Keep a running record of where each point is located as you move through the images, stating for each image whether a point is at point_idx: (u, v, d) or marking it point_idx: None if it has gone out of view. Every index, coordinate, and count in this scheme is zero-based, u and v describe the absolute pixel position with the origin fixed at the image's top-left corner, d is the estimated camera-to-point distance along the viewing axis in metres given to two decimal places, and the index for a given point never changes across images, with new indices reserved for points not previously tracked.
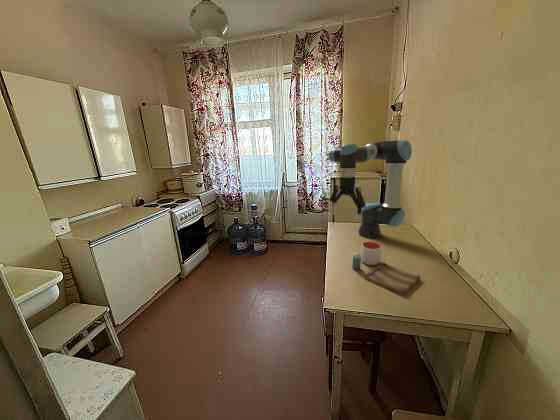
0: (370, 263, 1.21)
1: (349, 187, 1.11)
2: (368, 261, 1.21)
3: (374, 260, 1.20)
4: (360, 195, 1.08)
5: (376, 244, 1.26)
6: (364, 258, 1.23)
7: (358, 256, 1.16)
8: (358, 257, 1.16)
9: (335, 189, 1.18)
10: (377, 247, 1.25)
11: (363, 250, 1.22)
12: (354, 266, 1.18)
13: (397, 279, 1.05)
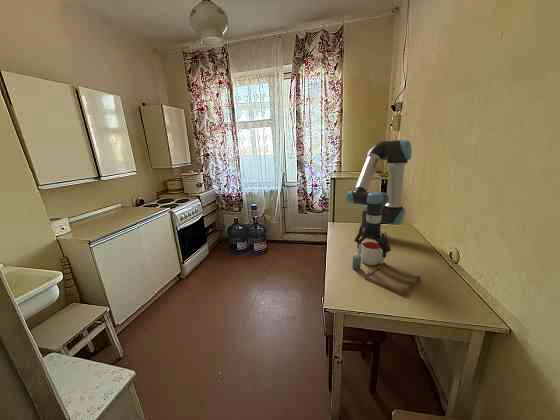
0: (370, 263, 1.21)
1: (375, 232, 1.18)
2: (368, 261, 1.21)
3: (374, 260, 1.20)
4: (386, 240, 1.16)
5: (376, 244, 1.26)
6: (364, 258, 1.23)
7: (358, 256, 1.16)
8: (358, 257, 1.16)
9: (360, 231, 1.25)
10: (377, 247, 1.25)
11: (363, 250, 1.22)
12: (354, 266, 1.18)
13: (397, 279, 1.05)
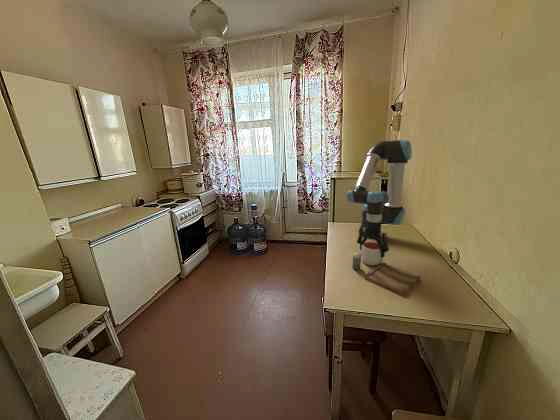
0: (371, 263, 1.21)
1: (376, 231, 1.18)
2: (369, 261, 1.21)
3: (375, 260, 1.19)
4: (385, 240, 1.16)
5: (377, 244, 1.25)
6: (365, 258, 1.22)
7: (358, 256, 1.16)
8: (358, 257, 1.16)
9: (361, 232, 1.25)
10: (378, 247, 1.25)
11: (364, 250, 1.22)
12: (354, 266, 1.18)
13: (397, 279, 1.05)
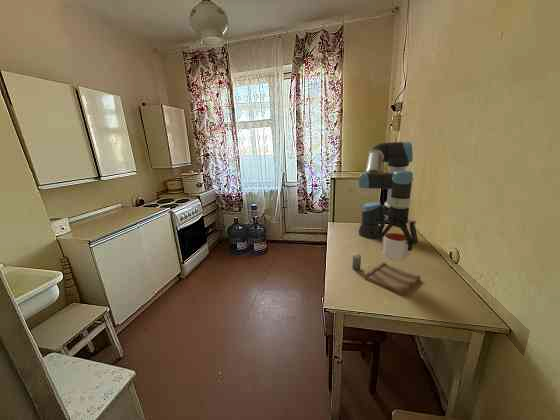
0: (395, 258, 1.01)
1: (402, 219, 0.98)
2: (392, 255, 1.01)
3: (400, 254, 1.00)
4: (414, 230, 0.96)
5: (401, 235, 1.05)
6: (387, 252, 1.02)
7: (358, 256, 1.16)
8: (358, 257, 1.16)
9: (383, 220, 1.05)
10: (402, 239, 1.05)
11: (386, 242, 1.02)
12: (354, 266, 1.18)
13: (397, 279, 1.05)
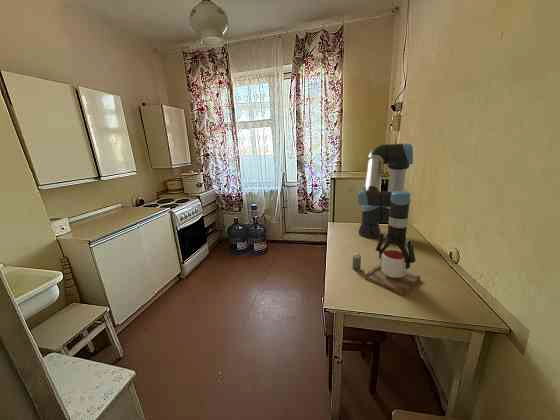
0: (393, 275, 1.03)
1: (400, 238, 1.00)
2: (391, 273, 1.03)
3: (398, 272, 1.02)
4: (412, 249, 0.98)
5: (399, 253, 1.08)
6: (386, 269, 1.05)
7: (358, 256, 1.16)
8: (358, 257, 1.16)
9: (382, 238, 1.07)
10: (400, 256, 1.08)
11: (385, 260, 1.05)
12: (354, 266, 1.18)
13: (397, 279, 1.05)
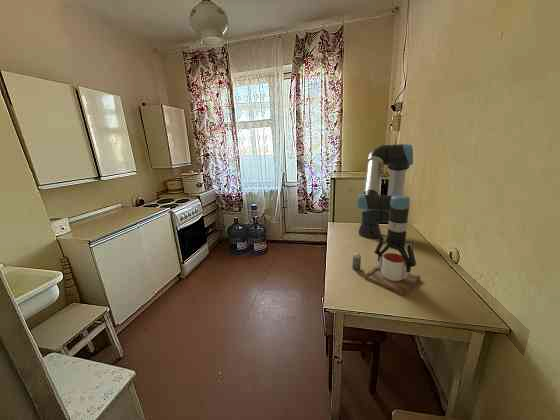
0: (393, 279, 1.04)
1: (399, 242, 1.01)
2: (390, 276, 1.04)
3: (398, 275, 1.03)
4: (412, 253, 0.99)
5: (399, 256, 1.08)
6: (386, 272, 1.05)
7: (358, 256, 1.16)
8: (358, 257, 1.16)
9: (381, 241, 1.08)
10: (400, 259, 1.08)
11: (384, 263, 1.05)
12: (354, 266, 1.18)
13: None
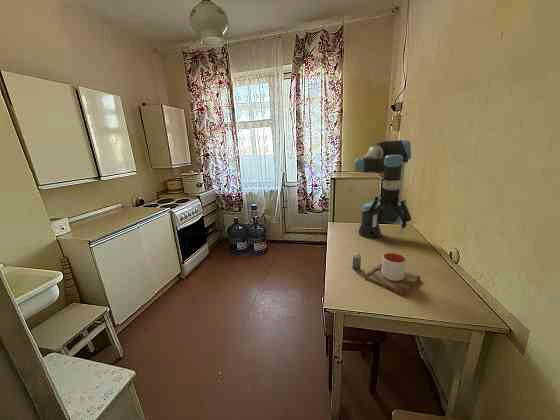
0: (393, 279, 1.04)
1: (393, 200, 1.06)
2: (390, 276, 1.04)
3: (398, 275, 1.03)
4: (406, 208, 1.03)
5: (399, 256, 1.08)
6: (386, 272, 1.05)
7: (358, 256, 1.16)
8: (358, 257, 1.16)
9: (375, 201, 1.13)
10: (400, 259, 1.08)
11: (384, 263, 1.05)
12: (354, 266, 1.18)
13: None
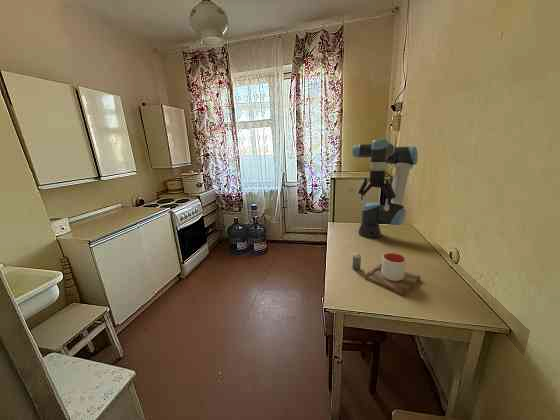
0: (393, 279, 1.04)
1: (379, 180, 1.19)
2: (390, 276, 1.04)
3: (398, 275, 1.03)
4: (390, 187, 1.16)
5: (399, 256, 1.08)
6: (386, 272, 1.05)
7: (358, 256, 1.16)
8: (358, 257, 1.16)
9: (365, 182, 1.26)
10: (400, 259, 1.08)
11: (384, 263, 1.05)
12: (354, 266, 1.18)
13: None
